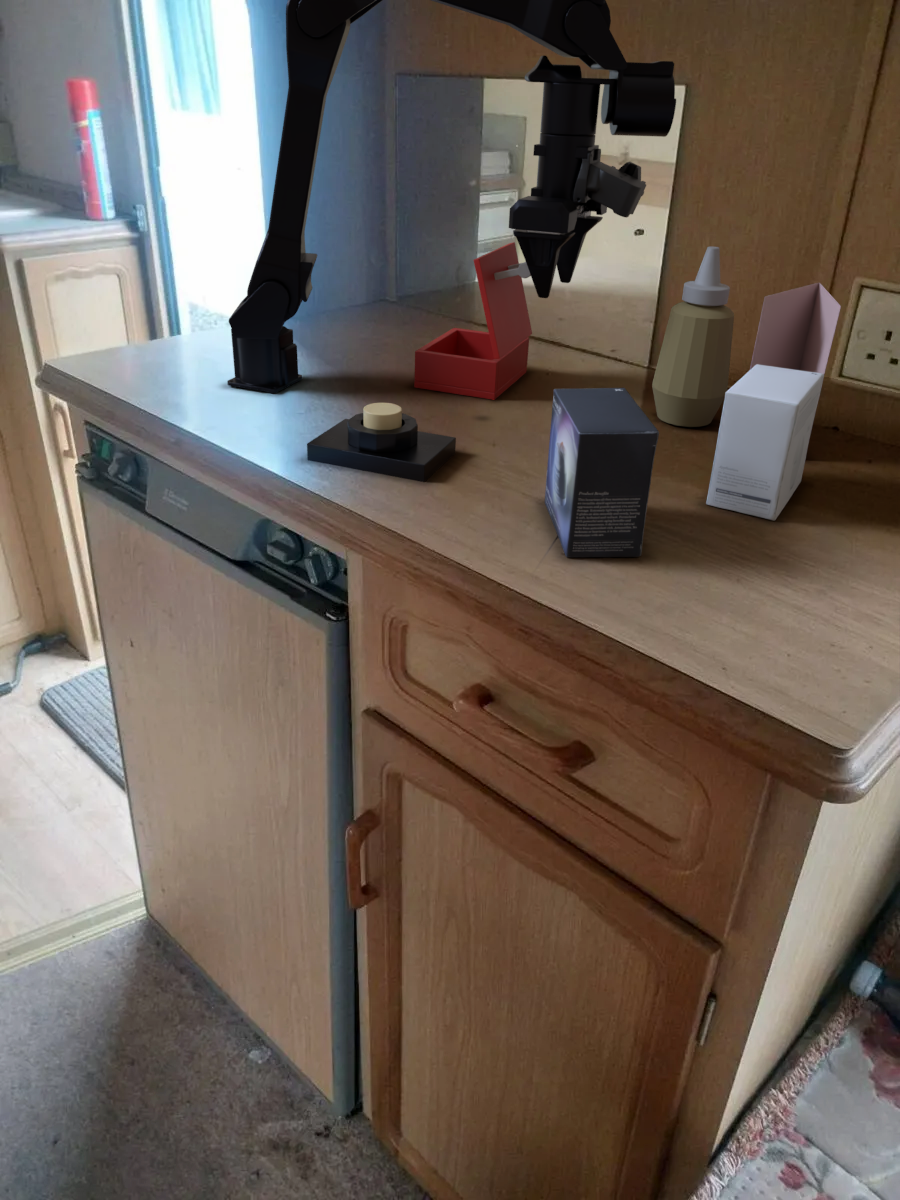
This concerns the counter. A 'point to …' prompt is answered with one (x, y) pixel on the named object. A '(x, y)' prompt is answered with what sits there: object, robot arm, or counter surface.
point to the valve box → (468, 365)
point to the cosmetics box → (763, 440)
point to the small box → (599, 471)
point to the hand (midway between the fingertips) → (554, 289)
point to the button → (382, 416)
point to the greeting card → (797, 329)
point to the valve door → (504, 298)
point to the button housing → (383, 449)
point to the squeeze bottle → (696, 350)
